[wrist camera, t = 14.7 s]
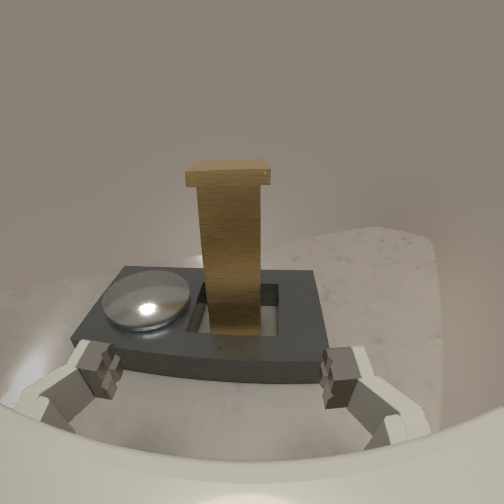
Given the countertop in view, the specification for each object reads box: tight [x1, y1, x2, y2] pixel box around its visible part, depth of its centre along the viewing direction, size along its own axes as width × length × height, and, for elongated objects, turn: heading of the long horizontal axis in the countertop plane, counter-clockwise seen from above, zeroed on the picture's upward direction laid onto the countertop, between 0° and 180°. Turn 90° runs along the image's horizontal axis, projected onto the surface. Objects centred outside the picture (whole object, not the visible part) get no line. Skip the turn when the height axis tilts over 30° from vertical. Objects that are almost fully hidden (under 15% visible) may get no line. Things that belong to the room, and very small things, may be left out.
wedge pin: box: [185, 160, 271, 336], centre depth 22 cm, size 5×4×14 cm
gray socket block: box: [70, 266, 329, 384], centre depth 25 cm, size 20×12×3 cm, turn 87°
